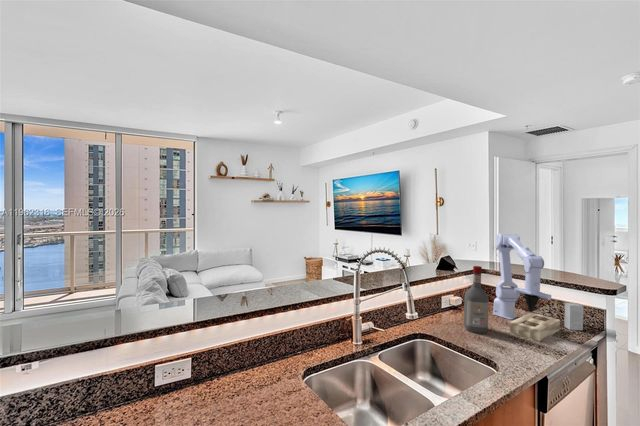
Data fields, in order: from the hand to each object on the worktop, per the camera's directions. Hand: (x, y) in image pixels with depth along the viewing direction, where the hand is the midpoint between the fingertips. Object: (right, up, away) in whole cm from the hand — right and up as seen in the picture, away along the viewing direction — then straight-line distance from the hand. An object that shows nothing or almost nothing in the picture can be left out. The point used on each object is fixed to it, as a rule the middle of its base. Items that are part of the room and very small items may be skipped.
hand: (531, 311), depth 146 cm
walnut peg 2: (+8, -10, +6) cm, 14 cm away
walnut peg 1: (-1, -10, -1) cm, 10 cm away
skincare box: (+25, -11, +7) cm, 28 cm away
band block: (+3, -10, +2) cm, 11 cm away
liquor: (-24, -10, +3) cm, 27 cm away
